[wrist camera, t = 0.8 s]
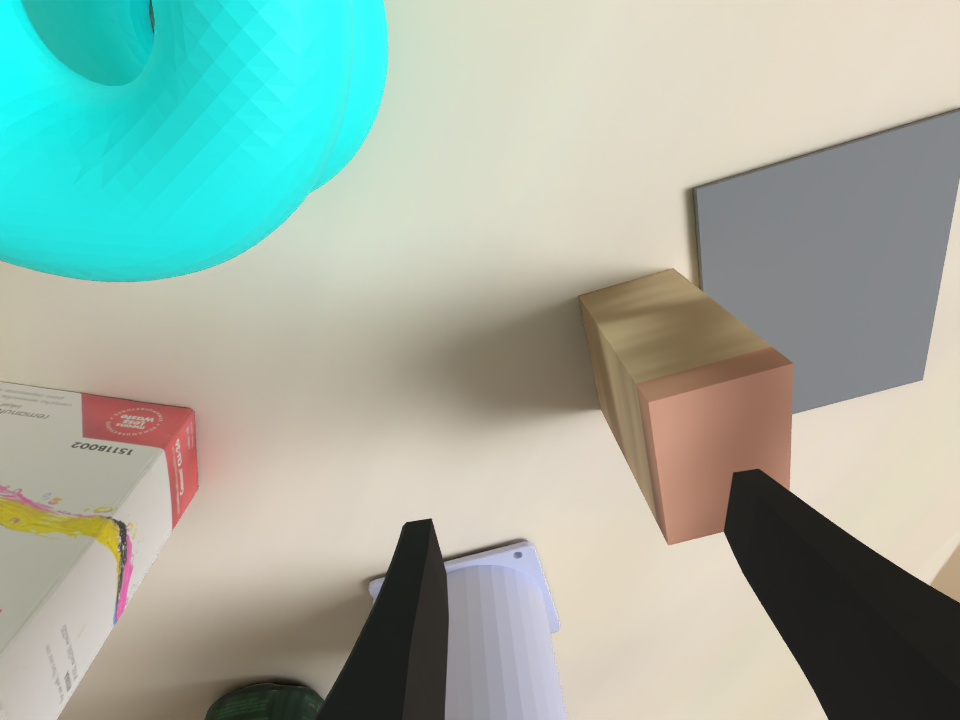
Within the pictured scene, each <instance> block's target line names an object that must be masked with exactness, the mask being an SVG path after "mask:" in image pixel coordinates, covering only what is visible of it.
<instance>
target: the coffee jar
mask: <svg viewBox="0 0 960 720" xmlns="http://www.w3.org/2000/svg"><path fill="white" fill-rule="evenodd" d="M323 703H324V700H323V699H322V698H321V697H320V696H319V695H318V694H317V693H316V692H315V691H313V690H312V689H310V688H308V687H304V686H291V685H278V684H274V683H263V684H256V685H252V686H248V687H245V688H241V689H239V690H236V691H234V692H233V693H230V694H228V695H226V696H224V697H222V698H220V699H218V700H217V701H216V702H215V703H213V704H212V706H211V707H210V708H209V710H208V712H207V715H206V717H205V720H313V719H314V717H315V716H316V714H317V712H318V711H319V709H320V707H321V706H322V704H323Z"/></svg>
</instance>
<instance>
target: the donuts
mask: <svg viewBox="0 0 960 720" xmlns="http://www.w3.org/2000/svg"><path fill="white" fill-rule="evenodd" d="M151 1H152V7H153V13H154V19H155V26H154V34H153V31H152V26H151V21H150V14H149V4H150V0H0V260H2V261H5V262H8V263H11V264H14V265H17V266H21V267H25V268H29V269H32V270H36V271H40V272H44V273H49V274H54V275H59V276H64V277H70V278H76V279H84V280H92V281H105V282H136V281H150V280H157V279H164V278H170V277H176V276H181V275H185V274H190V273H194V272H198V271H201V270H204V269H207V268H210V267H213V266H216V265H218V264H220V263H223V262H225V261H228V260H230V259H232V258H234V257H236V256H237V255H239V254H241V253H243V252H245V251H246V250H248V249H250V248H251V247H253V246H254V245H256V244H257V243H259V242H260V241H261V240H263V239H264V238H265V237H267V236H268V235H269V234H271V233H272V232H273V231H274V230H275V229H276V228H278V227H279V226H280V225H281V224H282V223H283V222H284V221H285V220H286V219H287V218H288V217H289V216H290V215H291V214H292V213H293V212H294V211H295V210H296V209H297V208H298V206H299V205H300V204H301V203H302V202H303V200H304V199H305V198H306V197H307V195H308V194H309V193H310V192H312V191H314V190H316V189H317V188H319V187H320V186H322V185H324V184H325V183H326V182H328V181H329V180H330V179H332V178H333V177H334V176H335V175H336V174H337V173H339V172H340V171H341V170H342V169H343V168H344V167H345V166H346V164H347V163H348V162H349V161H350V160H351V159H352V158H353V156H354V155H355V154H356V152H357V151H358V150H359V148H360V147H361V145H362V144H363V142H364V140H365V139H366V137H367V135H368V133H369V131H370V129H371V127H372V125H373V123H374V120H375V118H376V115H377V112H378V109H379V106H380V103H381V99H382V95H383V91H384V86H385V80H386V73H387V63H388V35H387V22H386V14H385V8H384V3H383V0H151Z"/></svg>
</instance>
